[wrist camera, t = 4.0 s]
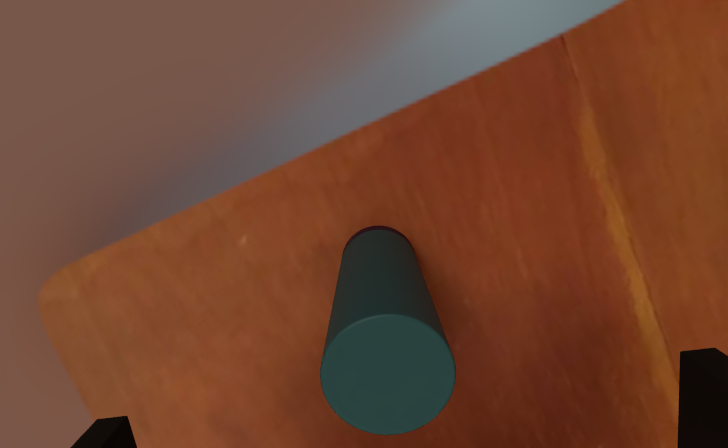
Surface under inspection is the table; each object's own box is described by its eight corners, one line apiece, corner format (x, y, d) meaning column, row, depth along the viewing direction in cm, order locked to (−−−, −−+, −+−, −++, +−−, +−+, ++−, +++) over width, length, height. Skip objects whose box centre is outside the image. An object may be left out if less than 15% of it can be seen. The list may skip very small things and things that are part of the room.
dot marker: (347, 299, 24) (331, 443, 13) (336, 231, 23) (309, 323, 12) (418, 290, 23) (462, 428, 13) (410, 220, 22) (449, 305, 12)
